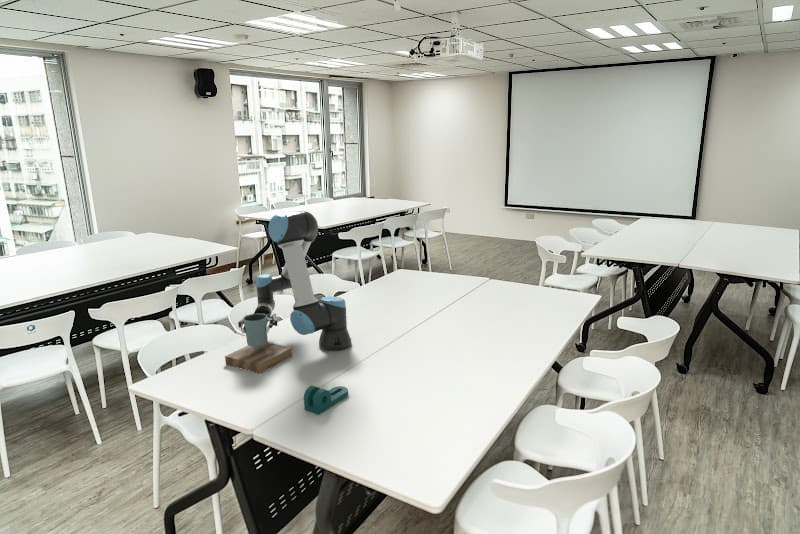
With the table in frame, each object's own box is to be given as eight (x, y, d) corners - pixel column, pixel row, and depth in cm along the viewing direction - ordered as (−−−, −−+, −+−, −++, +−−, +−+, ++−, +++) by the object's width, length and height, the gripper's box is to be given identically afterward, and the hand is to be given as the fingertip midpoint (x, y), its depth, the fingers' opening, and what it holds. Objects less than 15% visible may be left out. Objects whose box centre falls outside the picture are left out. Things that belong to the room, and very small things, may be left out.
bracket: (318, 415, 175) (316, 394, 174) (304, 410, 179) (303, 390, 177) (351, 394, 190) (350, 375, 188) (338, 390, 193) (337, 371, 192)
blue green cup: (247, 349, 213) (245, 322, 211) (243, 340, 222) (240, 315, 219) (271, 344, 218) (269, 318, 215) (266, 336, 227) (264, 311, 224)
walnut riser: (292, 355, 226) (291, 347, 225) (260, 373, 209) (259, 364, 208) (259, 348, 235) (258, 340, 234) (225, 364, 218) (224, 356, 217)
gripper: (287, 319, 239) (281, 336, 218) (239, 321, 237) (229, 339, 215) (286, 304, 237) (280, 320, 216) (238, 306, 235) (227, 323, 213)
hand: (254, 330), depth 216 cm, fingers closed on blue green cup, 9 cm apart
